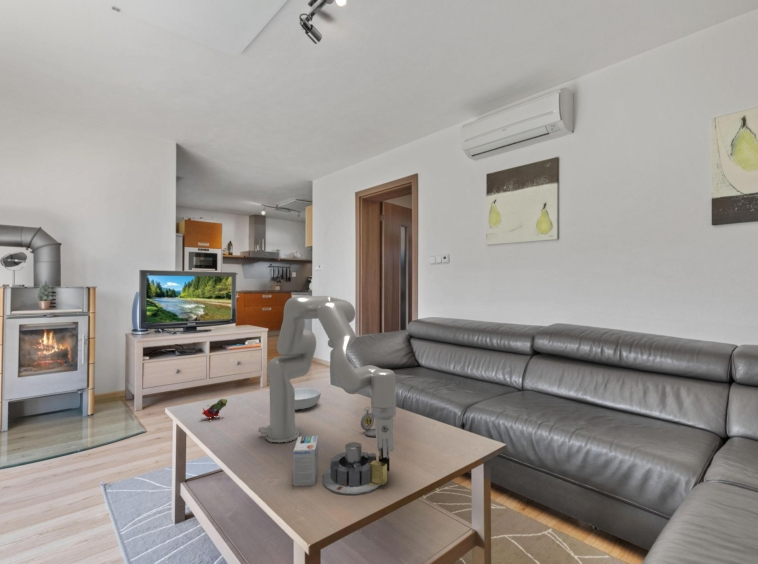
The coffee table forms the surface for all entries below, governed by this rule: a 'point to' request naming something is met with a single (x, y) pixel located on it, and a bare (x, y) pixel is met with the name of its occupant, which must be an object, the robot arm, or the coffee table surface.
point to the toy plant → (215, 408)
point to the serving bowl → (306, 397)
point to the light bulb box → (305, 461)
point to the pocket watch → (368, 424)
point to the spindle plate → (347, 488)
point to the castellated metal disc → (358, 470)
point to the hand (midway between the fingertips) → (384, 470)
